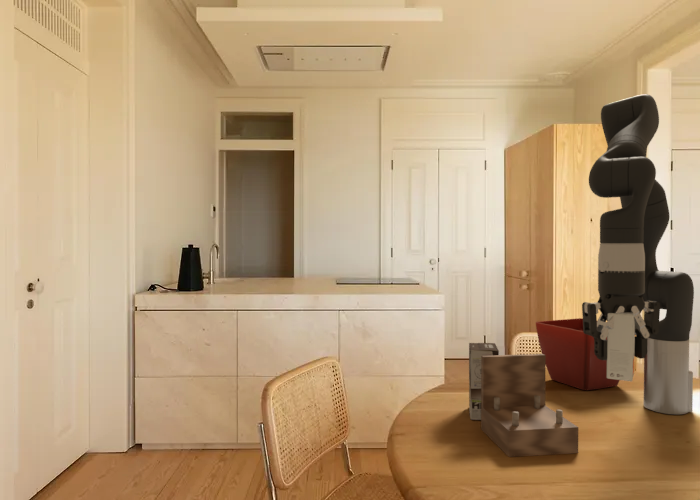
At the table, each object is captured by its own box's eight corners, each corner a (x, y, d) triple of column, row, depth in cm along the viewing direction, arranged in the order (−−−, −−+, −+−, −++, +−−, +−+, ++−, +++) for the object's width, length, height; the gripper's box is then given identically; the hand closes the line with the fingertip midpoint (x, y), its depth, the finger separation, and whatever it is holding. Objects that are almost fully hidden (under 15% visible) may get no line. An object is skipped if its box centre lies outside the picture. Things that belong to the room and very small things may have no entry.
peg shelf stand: (542, 426, 112) (542, 353, 111) (578, 452, 98) (578, 370, 97) (481, 429, 110) (481, 355, 110) (508, 456, 96) (509, 372, 96)
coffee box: (499, 422, 114) (499, 350, 114) (469, 420, 116) (469, 349, 115) (495, 408, 123) (496, 342, 123) (468, 406, 124) (468, 341, 124)
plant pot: (580, 371, 157) (581, 317, 157) (637, 387, 140) (638, 327, 139) (533, 378, 149) (533, 321, 149) (587, 396, 132) (587, 332, 132)
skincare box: (633, 382, 89) (633, 314, 89) (606, 379, 91) (606, 312, 91) (635, 374, 94) (635, 310, 94) (609, 371, 97) (609, 308, 96)
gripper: (643, 266, 97) (642, 352, 97) (572, 267, 95) (572, 355, 96) (672, 268, 90) (671, 362, 90) (596, 270, 88) (596, 365, 88)
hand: (620, 358), depth 93 cm, fingers closed on skincare box, 7 cm apart
